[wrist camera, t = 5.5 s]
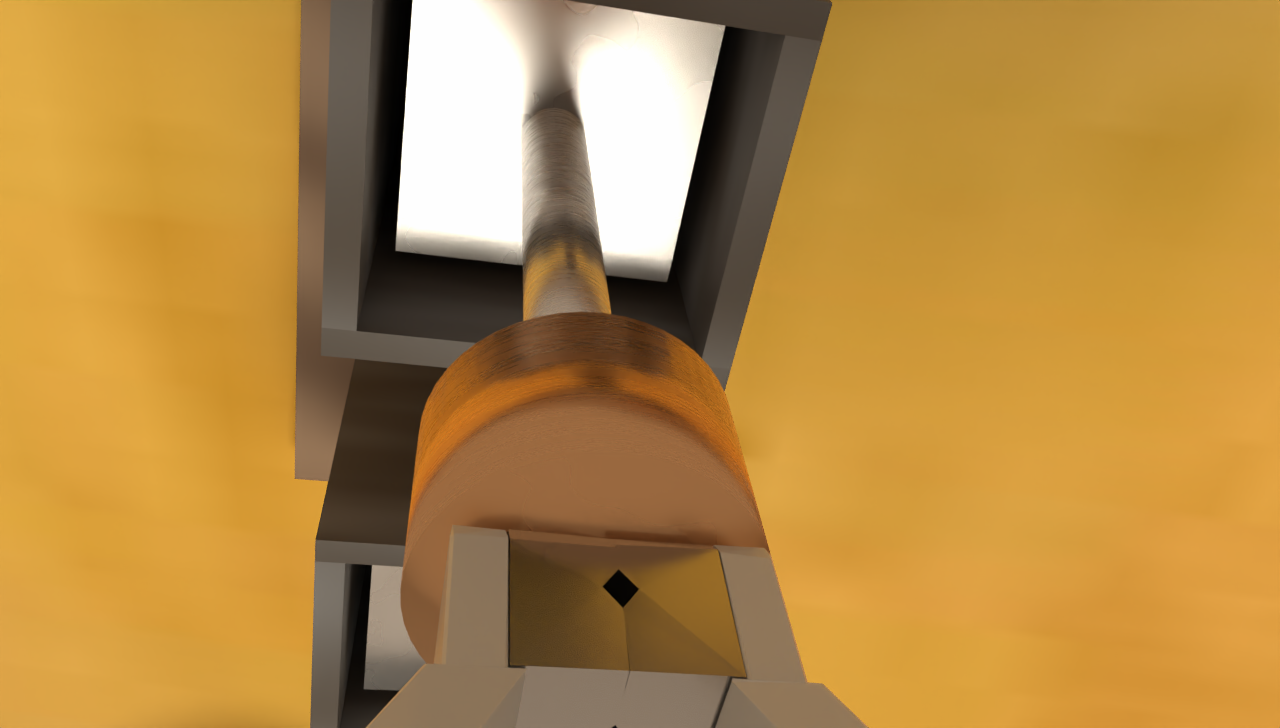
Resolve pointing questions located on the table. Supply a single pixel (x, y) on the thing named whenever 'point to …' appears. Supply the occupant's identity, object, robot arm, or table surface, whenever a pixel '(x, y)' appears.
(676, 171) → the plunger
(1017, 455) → the table surface
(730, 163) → the stand
